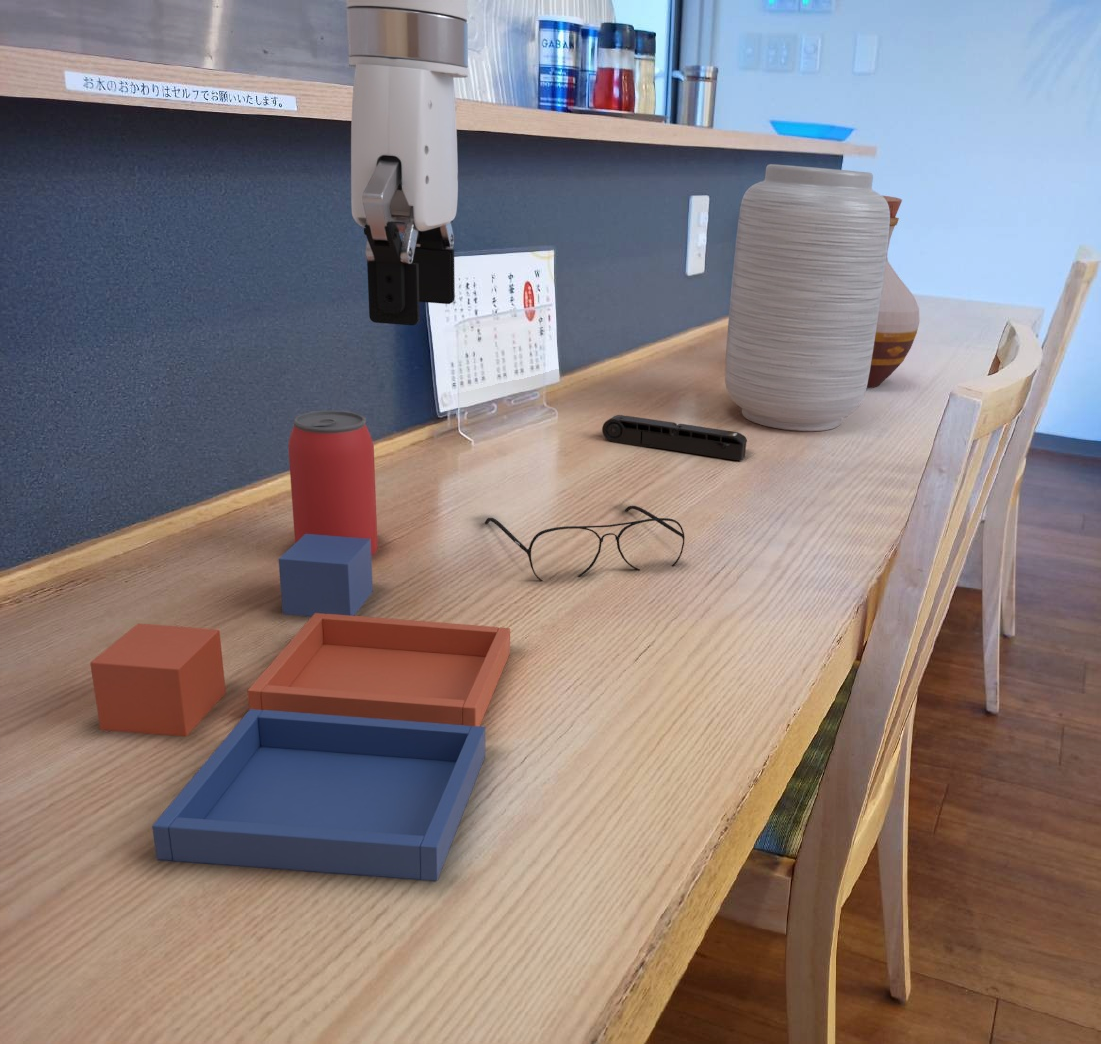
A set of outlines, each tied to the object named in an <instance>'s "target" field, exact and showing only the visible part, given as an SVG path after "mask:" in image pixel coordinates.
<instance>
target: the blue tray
mask: <svg viewBox="0 0 1101 1044" xmlns="http://www.w3.org/2000/svg"><path fill="white" fill-rule="evenodd" d="M485 758H486V726H481V725H480V726H472V727H471V726H466V725H453V724H440V723H427V722H414V721H401V720H388V719H375V718H362V717H349V716H336V715H323V714H310V713H297V712H284V711H271V710H255V709H250V710H249V709H248V711H247V712H245V714H244V716H243V717H242V718H241V719H240V720H239V721H238V723H237V724H236V725H235V726H234V727H233V728H232V730H230V732H229V733H228V734H227V736H226V737H225V738H224V739H223V740H222V742H221V743H219V745H218V746H217V747H216V749H215V750H214V751H213V752H212V754H210V756H209V757H208V758H207V760H206V761H205V762H204V763H203V764H202V766H201V767H200V768H199V769H198V770H197V772H196V773H195V774H194V775H193V776H192V778H191V779H190V780H189V781H188V782H187V783H186V784H185V786H184V787H183V788H182V789H181V790H180V792H179V793H178V794H177V795H176V797H175V798H174V799H173V800H172V801H171V802H170V804H169V805H168V806H167V808H166V809H165V810H164V811H163V812H162V813H161V815H160V816H159V817H158V818H157V819H156V821H154V823H153V824H152V826H151V827H152V828H151V829H152V834H153V842H154V849H155V850H154V851H155V858H156V860H157V861H162V862H163V861H164V862H177V863H188V864H189V863H191V864H203V865H216V866H227V867H228V866H229V867H242V868H254V869H255V868H258V869H267V870H268V869H269V870H282V871H293V872H295V871H296V872H306V873H307V872H309V873H320V874H321V873H322V874H334V875H335V874H336V875H348V876H358V877H359V876H361V877H374V878H388V879H400V880H415V881H424V882H425V881H426V882H427V881H428V882H438V880H439V878H440V875H441V872H442V870H443V867H444V864H445V862H446V859H447V857H448V854H449V851H450V849H451V846H452V844H453V841H454V838H455V836H456V834H457V830H458V828H459V825H460V823H461V820H462V817H463V815H464V812H465V810H466V807H467V804H468V803H469V800H470V796H471V794H472V792H473V789H474V786H475V784H476V781H477V778H478V776H479V773H480V771H481V768H482V765H483V763H484V760H485Z"/></svg>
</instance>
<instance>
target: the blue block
mask: <svg viewBox="0 0 1101 1044" xmlns="http://www.w3.org/2000/svg"><path fill="white" fill-rule="evenodd" d="M372 562H373V561H372V555H371V539H365V538H353V537H340V536H327V535H315V534H305V535H304V536H303V537H302V538H300V539H299V540H298V541H297V542H296V543H295V542H294V544H293V545H291V547H290V548H288V550H286V551H285V552H284V553H283V554H282V555H281V556H280V557H279V558H278V570H279V582H280V597H281V607H282V615H285V616H296V617H297V616H299V617H310V618H311V617H312V616H313V615H314V614H315V613H322V614H337V615H350V616H356V614H357V613H358V612H359V610H360V609H361V608H362V607H363V605H364V604H365V603H366V601H368V598H369V597H370V596H371V595H372V593H373V592H374V589H373V588H374V586H373V585H374V584H373V563H372Z"/></svg>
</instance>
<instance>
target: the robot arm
mask: <svg viewBox="0 0 1101 1044" xmlns="http://www.w3.org/2000/svg"><path fill="white" fill-rule="evenodd" d="M345 3H346V22H347V23H346V26H347V27H346V28H347V29H346V30H347V51H348V53H347V54H348V66H349V67H351V68H354V75H353V88H352V100H351V127H350V132H351V133H350V197H351V199H350V200H351V203H350V205H351V206H350V207H351V216H352V218H353V220H354V221H355V223H357V225H358V226H360V227H363V233H364V235H365V236H366V239H367V240H366V244H365V258H366V268H367V290H368V291H367V293H368V294H367V295H368V315H369V319H370V321H371V322H372V323H376V324H389V325H402V326H415V325H417V324H418V323H419V322H420V319H421V316H420V315H421V313H420V303H429V304H430V303H431V304H442V305H450V304H452V303H454V301H455V299H456V295H455V294H456V292H455V289H456V288H455V287H456V285H455V284H456V283H455V279H456V278H455V249H454V246H455V245H454V244H455V235H454V231H453V226H452V223H453V222H454V219H455V218H456V215H457V212H458V198H459V167H458V166H459V164H458V161H459V160H458V136H457V135H458V130H457V129H458V128H457V107H456V98H455V97H456V95H455V82H454V81H455V80H454V78H456V79H457V78H458V79H459V78H461V79H465V78H468V77H469V75H468V74H469V73H468V71H469V68H468V67H469V66H468V65H469V60H468V59H469V58H468V57H469V56H468V55H469V54H468V53H469V51H468V50H469V48H468V47H469V46H468V45H469V44H468V43H469V41H468V37H469V36H468V34H469V33H468V32H469V31H468V24H469V23H468V0H345ZM400 234H402V238H401V235H400Z"/></svg>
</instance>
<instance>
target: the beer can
mask: <svg viewBox="0 0 1101 1044" xmlns="http://www.w3.org/2000/svg"><path fill="white" fill-rule="evenodd" d="M292 422H293V427H292V429H291V431H290V436H289V439H288V445H287V446H288V447H287V448H288V461H289V463H288V464H289V476H290V477H289V479H290V491H291V492H290V493H291V504H292V505H291V507H292V519H293V532H294V533H293V536H294V544H295V543H296V542H297V541H298V540H299V539H300V538H302V537H303V536H304V535H305V534H315V535H327V536H340V537H353V538H365V539H371V556H373V555H374V554H376V552H377V550H378V548H379V547H378V546H379V545H378V520H377V519H378V518H377V495H376V469H375V466H376V465H375V446H374V441H373V439H372V435H371V433H370V431H369V428H368V426H367V425H366V424H367V419H366V417H365V416H363V415H361V414H359V413H356V412H353V411H347V410H346V411H345V410H332V409H331V410H315V411H309V412H305V413H301V414H299V415H297V416H296V417H295V418H293V420H292Z"/></svg>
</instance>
